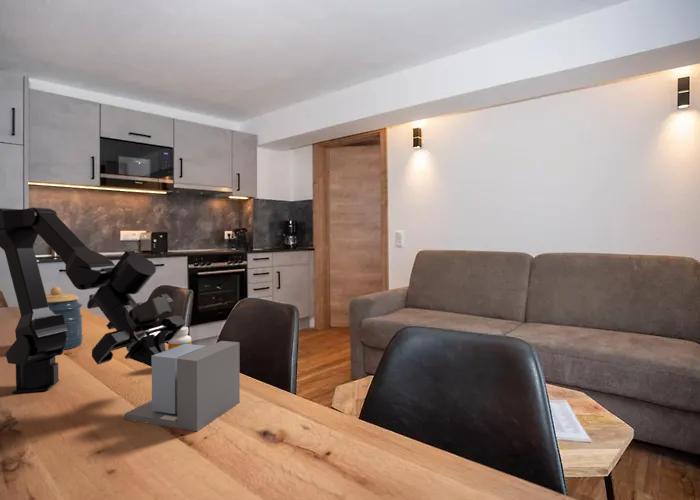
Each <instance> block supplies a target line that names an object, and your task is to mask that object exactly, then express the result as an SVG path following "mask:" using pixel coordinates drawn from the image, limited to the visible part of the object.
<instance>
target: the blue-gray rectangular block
mask: <svg viewBox="0 0 700 500" xmlns="http://www.w3.org/2000/svg"><path fill="white" fill-rule="evenodd" d="M205 347H207V345H204V344H203V345H202V344H201V345H200V344H193V343H191V344H183V345H180V346H177V347H175V348H172V349H169V350H168V349H167V350H166V351H163V352H161V353H158V354H155V355H152V367H151V400H152V411H158V412H164V413H170V414H176V413H177V359H178V358H180V357H183V356H185V355H188V354H190V353H193V352H195V351H198V350H200V349H203V348H205Z"/></svg>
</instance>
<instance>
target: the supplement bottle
mask: <svg viewBox="0 0 700 500" xmlns="http://www.w3.org/2000/svg"><path fill="white" fill-rule="evenodd" d="M188 334H189V327H188V326H183V327H182V328H181V330H180V331H179V332H178V333H177V334H176V335H175V336H174V337H173V338H172V339H171V340H170V341H168V342H167V343H168V345H167V346H168V347H167V348H168V349H167V350H169V349H172V348H175V347H177V346H180V345H183V344H192V337H191V336H190V335H188Z"/></svg>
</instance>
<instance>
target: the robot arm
mask: <svg viewBox="0 0 700 500" xmlns="http://www.w3.org/2000/svg"><path fill="white" fill-rule="evenodd" d="M38 236H39V237H40V238H42V240H43V241H44V242H45V244H47V245H48V246H49V247H50V248H51V249H52V250H53V252H54V254H56V255H57V256H58V257H59V258H60V259H61V260H62V261H63V263H64V265H65V274H66V276H67V277H68V279H69V280H70V282H71V283H72V285H73V286H74V287H75V288H76V289H78V290H79V291H84V290H93V289H94V290H95V289H97V291H95V293H93V294H90V295H89V297H88V301H87V305H86V307H87V309H88V310H90V309H96V308H99V309H100V310H101V312H102V314H103V315H104V316H105V318H107V319H106V320H108V321H109V322H108V323H107V324H106V328H107V329H108V330H114V329H115V331H110V332H106V333H105V334H104V335H103V336H102V337H101V338H100V339H99V341H98V342H97V343H96V344H95V346H94V347H93V348H91V358H92V359H93V360H94V362H95V363H96V365H98V366H99V365H101V364H105V363H108V362H110V361H111V360H112V359H113V357H114V354H113V351H117V350H120V349H123V348H126V351H127V354H126V355H125V356H124V358H125V359H126V360H128V359H130V360H133V361H135V362H139V363H141V364H143V365H146V366H148V367H151V368H152V355H155V354H158V353H161V352H163V351H166V345H165V343H168V341H170V340H171V339H172V338H173V337H174V336H175V335H176V334H177V333H178V332H179V331H180V330H181V328H182V327H185V326H186V324H187V323H186V321H185V320H184V318H183V317H182V316H181V315H173V316H169V317H165V318H163V320H162V321H161V322H160V323H159V324H158V325H157V326H156V327H154V325H156V324H157V323H158V322H159V321H160V319H159V318H160V317H161V316H163V315H165V314H170V313H172V312H173V311H172V309H173V308H174V307H175V301H174V300H173V298H171V296H170V295H169V294H168V293H164V294H160V295H159V296H156V297H155V298H152V299H148V300H146V301H144V302H137V301H135V299H134V298H133V297H132V296H131V295H136V294H138V293H140V291H141V290H142V289H144V286H146V284H147V283H148V282H149V281H150V279H151V278H152V277H153V276H154V275H155V274H156V272H157V268H156V265H155V264H154V263H153V261H151V260H149V259H148V258H146V257H144V256H143V255H140V254H137V252H136V251H135V250H125V251H124V253H123V254H122V255H121V258H120V259H119V260H118V261H117V263H116V264H115V263H114V262H113V261H112V260H110V259H109V258H108V257H106V256H105V255H104V254H102V253H99V252H97V251H95V250H92V249H89V247H87V246H86V244H85V243H84V242H82V240H80V238H79V237H77V235H76V234H75V233H74V232H73V231H72V230H71V229H70V228H69V227H68V226H67V225H66V224H65V222H63V221H62V220H61V219H60V217H59V216H58V213H57V212H56V210H55V209H52V208H49V207H47V208H45V207H34V206H33V207H29V208H28V207H27V208H24V209H20V208H3V207H0V248H1V249H2V250H3V251H4V254H5V259H6V262H7V266H8V269H9V273H10V274H9V275H10V278H11V281H12V284H13V285H12V286H13V289H14V294H15V298H16V300H17V305H18V308H19V309H18V310H19V313H20V317H19V321H18V323H17V325H16V327H15V329H14V331H15V332H14V333H15V339H16V340H15V341H14V342H13V343H12V344H11V346H10V347H9V348H8V349H7V351H6V352H5V358H6V362H7V363H8V364H10V365H11V364H12V365H15V388H14V389H12V390H11V394H17V393H18V394H20V393H31V392H45V391H49V390H50V389H51V388H52V387H54V386H55V385H56V384H57V383H59V381H60V379H59V363H58V362H56V356H61V355H63V352H64V351H65V350H64V346H65V342H66V340H67V333H66V332H67V331H68V330H67V328H66V326H65V323H64V317H63V315H62V314H57V315H56V314H55V313H53V312H52V311H51V310H50V309H49V306H48V302H47V298H46V294H47V293H46V291H45V287H44V284H43V280H42V276H41V271H40V268H39V265H38V263H39V262H38V260H37V256H36V252H35V248H34V245H35V242H36V240H37V238H38Z"/></svg>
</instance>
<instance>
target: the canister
mask: <svg viewBox="0 0 700 500" xmlns="http://www.w3.org/2000/svg"><path fill="white" fill-rule="evenodd" d="M45 294H46V298H47V302H48V306H49V309H50V310H51V311H52V312H53V313H55V314H56V315H57V314H62V315H63V317H64V323H65V326H66V328H67V330H68V331H67V332H66V333H67V340H66V342H65V346H64V350H63V351H65V350H70V349H73V348H76V347H79V346H80V345H82V344H83V339H84V338H83V337H84V336H83V324H82V323H83V319H82V318H83V314H81V308H82V307H83V304H82V303H80V302H79V301H78V300H79V299H80V298H79V296H77V295H76V294H74V293H72V292H62V289H61V288H60V287H59V286H53V287H51V289H50V293H45Z"/></svg>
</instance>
